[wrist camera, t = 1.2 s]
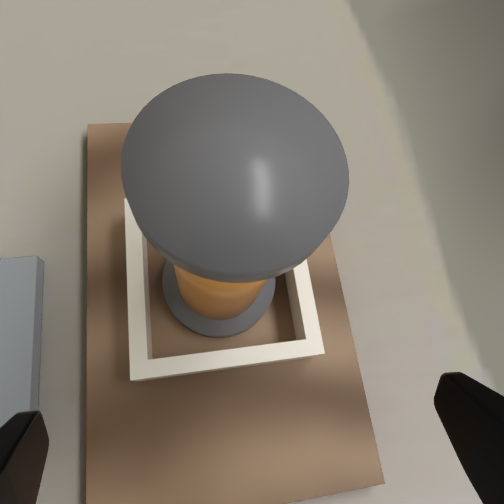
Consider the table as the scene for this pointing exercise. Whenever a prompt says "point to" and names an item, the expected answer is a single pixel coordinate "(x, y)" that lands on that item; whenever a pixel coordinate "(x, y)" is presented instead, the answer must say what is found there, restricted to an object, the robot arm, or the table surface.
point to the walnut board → (213, 385)
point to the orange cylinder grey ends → (231, 193)
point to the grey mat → (20, 334)
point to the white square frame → (173, 366)
